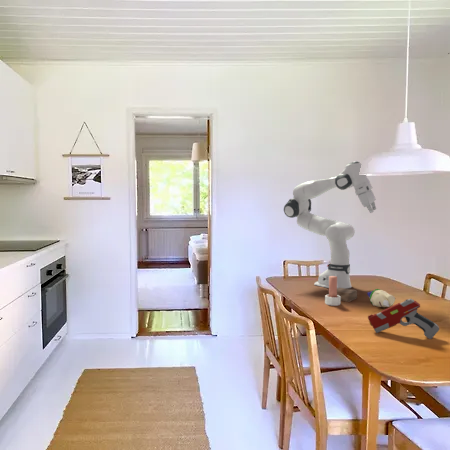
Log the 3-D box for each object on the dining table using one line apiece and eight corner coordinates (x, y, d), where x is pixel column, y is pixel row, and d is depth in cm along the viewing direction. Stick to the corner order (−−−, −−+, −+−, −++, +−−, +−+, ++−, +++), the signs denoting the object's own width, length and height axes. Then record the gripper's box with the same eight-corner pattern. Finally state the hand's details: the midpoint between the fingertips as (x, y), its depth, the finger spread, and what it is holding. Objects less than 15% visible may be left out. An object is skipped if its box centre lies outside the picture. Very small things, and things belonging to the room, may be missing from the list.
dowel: (327, 303, 214) (327, 276, 213) (330, 302, 217) (331, 275, 216) (334, 305, 211) (335, 277, 210) (338, 303, 214) (338, 276, 213)
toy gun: (389, 353, 172) (366, 315, 174) (442, 331, 164) (417, 292, 166) (389, 356, 169) (366, 318, 171) (443, 334, 160) (417, 294, 163)
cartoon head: (389, 316, 202) (362, 305, 221) (403, 305, 204) (375, 294, 223) (382, 302, 200) (356, 292, 218) (396, 291, 202) (369, 281, 221)
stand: (331, 299, 224) (331, 290, 224) (339, 296, 232) (339, 287, 231) (349, 302, 218) (349, 293, 217) (356, 299, 225) (357, 290, 225)
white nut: (323, 305, 213) (323, 296, 213) (329, 302, 219) (329, 293, 219) (336, 307, 209) (336, 298, 208) (342, 304, 214) (342, 295, 214)
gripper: (361, 188, 244) (371, 209, 244) (354, 193, 227) (364, 216, 226) (372, 184, 241) (381, 205, 241) (365, 188, 223) (375, 212, 223)
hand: (373, 211), depth 233 cm, fingers open, 8 cm apart
